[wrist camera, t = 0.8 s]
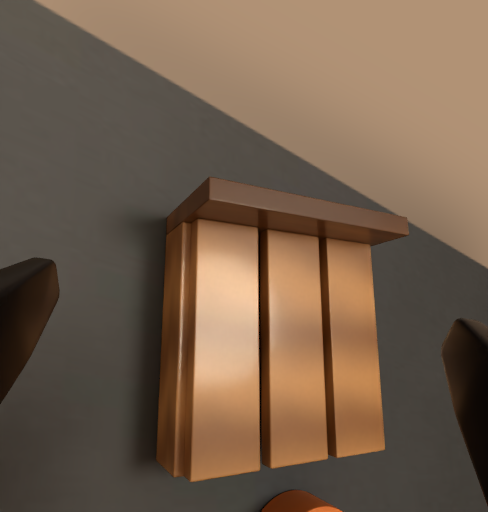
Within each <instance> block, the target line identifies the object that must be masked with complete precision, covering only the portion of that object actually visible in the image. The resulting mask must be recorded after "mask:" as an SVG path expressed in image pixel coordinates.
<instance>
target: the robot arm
mask: <svg viewBox="0 0 488 512" xmlns="http://www.w3.org/2000/svg"><path fill="white" fill-rule="evenodd" d="M58 298H59V284H58V276H57V269H56V264H55V262H54V261H52V260H50V259H43V258H31V259H28V260H25V261H23V262H20V263H17V264H14V265H11V266H9V267H6V268H3V269H0V404H1V402H2V401H3V399H4V398H5V396H6V395H7V393H8V391H9V390H10V388H11V387H12V385H13V384H14V382H15V380H16V379H17V377H18V376H19V374H20V373H21V371H22V369H23V368H24V366H25V365H26V363H27V361H28V360H29V358H30V356H31V354H32V352H33V350H34V348H35V346H36V344H37V342H38V340H39V338H40V336H41V334H42V332H43V330H44V328H45V326H46V324H47V322H48V320H49V318H50V316H51V313H52V311H53V309H54V307H55V305H56V303H57V301H58ZM441 356H442V361H443V365H444V369H445V373H446V377H447V381H448V386H449V390H450V394H451V398H452V402H453V407H454V410H455V414H456V417H457V421H458V424H459V427H460V430H461V432H462V435H463V438H464V441H465V444H466V446H467V449H468V452H469V455H470V458H471V461H472V463H473V466H474V469H475V472H476V475H477V477H478V480H479V483H480V486H481V489H482V491H483V494H484V497H485V500H486V503H487V505H488V327H487V326H485V325H484V324H482V323H481V322H479V321H477V320H471V319H464V318H459V319H457V320H456V321H455V322H454V323H453V325H452V327H451V329H450V331H449V333H448V335H447V337H446V338H445V340H444V342H443V344H442V348H441Z"/></svg>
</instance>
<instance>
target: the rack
mask: <svg viewBox="0 0 488 512" xmlns="http://www.w3.org/2000/svg"><path fill="white" fill-rule="evenodd" d="M166 235H167V236H166V255H165V277H164V299H163V321H162V343H161V366H160V388H159V410H158V432H157V455H156V460H157V462H158V463H159V464H160V465H161V466H162V467H163V468H165V469H166V470H167V471H168V472H169V473H170V474H171V475H172V476H173V477H180V476H184V477H185V478H186V479H188V480H189V481H190V482H195V481H201V480H207V479H213V478H219V477H225V476H231V475H237V474H243V473H249V472H255V471H259V470H260V401H259V281H258V247H260V312H261V420H262V464H263V465H265V466H267V467H269V468H271V469H272V468H278V467H284V466H290V465H296V464H302V463H308V462H314V461H320V460H326V459H328V455H331V456H334V457H336V458H339V457H345V456H351V455H357V454H363V453H369V452H375V451H381V450H385V442H384V429H383V415H382V401H381V387H380V374H379V360H378V346H377V333H376V319H375V305H374V291H373V278H372V264H371V250H370V246H374V245H377V244H380V243H384V242H387V241H391V240H394V239H398V238H401V237H404V236H408V235H409V232H408V222H407V218H406V217H402V216H397V215H392V214H387V213H383V212H378V211H373V210H368V209H363V208H359V207H354V206H349V205H344V204H339V203H334V202H330V201H325V200H320V199H315V198H310V197H306V196H301V195H296V194H291V193H286V192H282V191H277V190H272V189H267V188H262V187H257V186H253V185H248V184H243V183H238V182H233V181H229V180H224V179H219V178H214V177H208V178H207V179H206V180H205V181H204V182H203V183H202V184H201V185H200V186H199V187H198V188H197V189H196V190H195V191H194V192H193V193H192V194H191V195H190V196H189V197H188V198H187V199H186V200H185V201H183V202H182V203H181V204H180V205H179V206H178V207H177V208H176V209H175V210H174V211H173V212H172V213H171V214H170V215H169V216H168V217H167V229H166Z"/></svg>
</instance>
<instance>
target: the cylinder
mask: <svg viewBox="0 0 488 512" xmlns="http://www.w3.org/2000/svg"><path fill="white" fill-rule="evenodd" d="M261 512H343V511H341V510H340V509H338V508H336V507H334V506H332V505H330V504H329V503H327V502H325V501H323V500H321V499H319V498H317V497H316V496H314V495H312V494H310V493H308V492H305V491H301V490H291V491H287V492H284V493H282V494H280V495H278V496H276V497H275V498H273V499H272V500H271V501H270V502H269V503H268V504H267V505H266V506H265V507H264V508H263V509H262V511H261Z"/></svg>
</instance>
